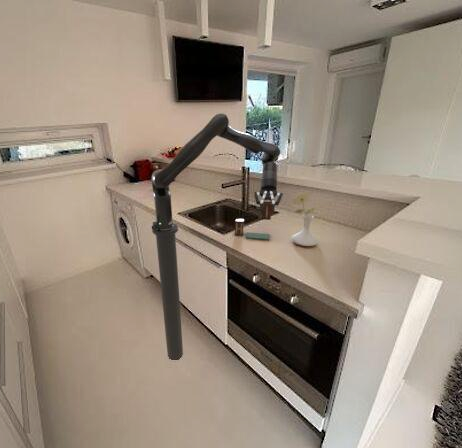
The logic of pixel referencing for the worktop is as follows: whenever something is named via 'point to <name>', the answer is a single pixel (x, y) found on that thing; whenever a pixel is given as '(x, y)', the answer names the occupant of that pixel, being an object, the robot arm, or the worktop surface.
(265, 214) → the brown white-topped cylinder
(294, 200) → the flower in vase
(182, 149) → the robot arm
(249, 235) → the word mat
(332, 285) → the worktop surface
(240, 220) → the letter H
